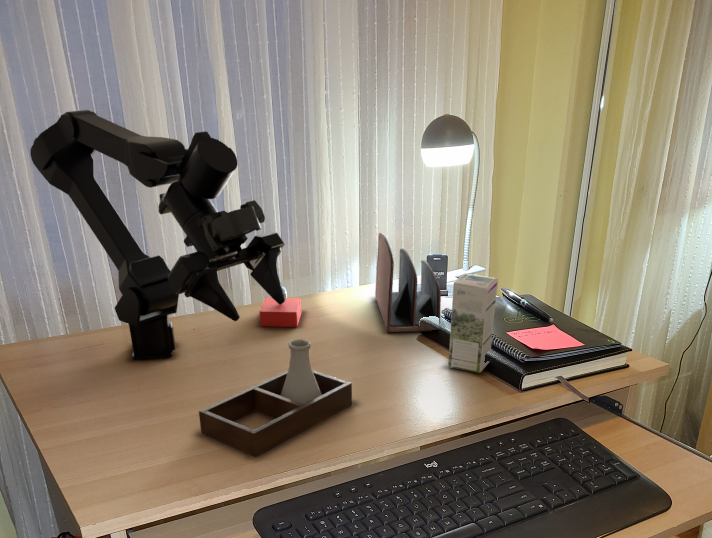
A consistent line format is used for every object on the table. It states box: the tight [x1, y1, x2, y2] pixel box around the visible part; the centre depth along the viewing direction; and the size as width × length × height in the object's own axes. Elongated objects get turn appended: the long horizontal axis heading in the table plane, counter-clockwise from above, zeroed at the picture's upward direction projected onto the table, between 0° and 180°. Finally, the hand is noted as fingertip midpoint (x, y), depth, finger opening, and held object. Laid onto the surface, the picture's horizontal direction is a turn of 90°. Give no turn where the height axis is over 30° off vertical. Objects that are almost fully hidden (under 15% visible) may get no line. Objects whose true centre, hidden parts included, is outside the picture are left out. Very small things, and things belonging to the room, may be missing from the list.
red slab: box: [259, 285, 302, 328], centre depth 144 cm, size 8×7×6 cm
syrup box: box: [447, 273, 499, 374], centre depth 125 cm, size 6×6×14 cm
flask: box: [280, 338, 322, 404], centre depth 112 cm, size 7×7×10 cm
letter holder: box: [374, 232, 442, 334], centre depth 145 cm, size 10×20×14 cm, turn 6°
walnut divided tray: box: [198, 369, 353, 458], centre depth 110 cm, size 11×20×4 cm, turn 143°
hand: (260, 310), depth 111 cm, fingers open, 9 cm apart
